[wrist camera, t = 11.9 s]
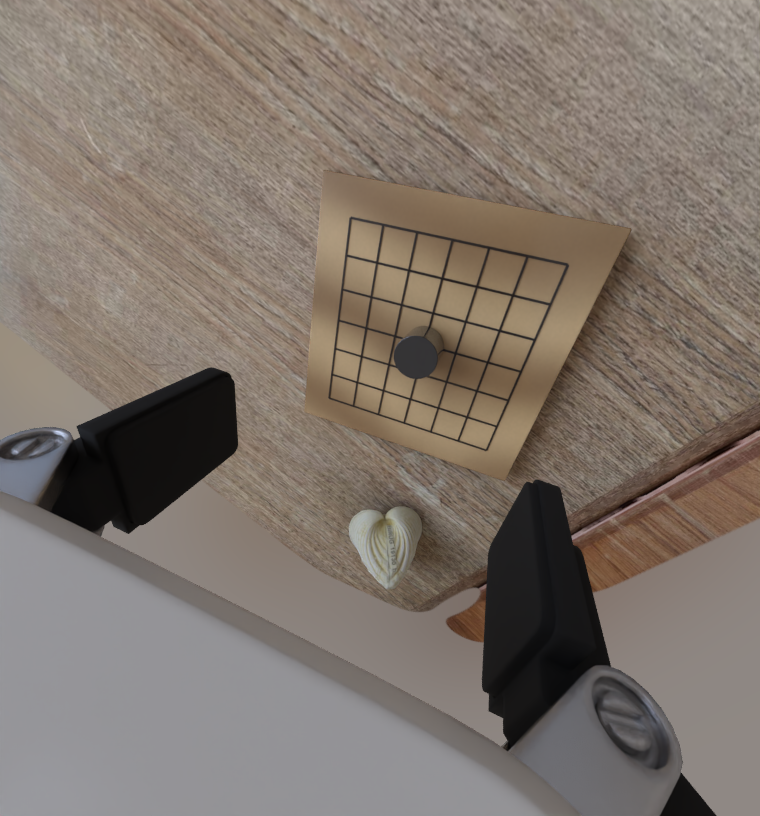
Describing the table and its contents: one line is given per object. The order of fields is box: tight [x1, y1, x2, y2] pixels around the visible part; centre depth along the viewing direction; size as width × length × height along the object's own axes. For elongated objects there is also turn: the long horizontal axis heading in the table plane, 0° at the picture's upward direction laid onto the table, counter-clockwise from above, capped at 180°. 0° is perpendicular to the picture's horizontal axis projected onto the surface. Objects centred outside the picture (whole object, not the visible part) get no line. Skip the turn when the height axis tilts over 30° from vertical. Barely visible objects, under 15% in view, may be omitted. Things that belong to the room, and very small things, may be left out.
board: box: [304, 170, 631, 481], centre depth 26 cm, size 20×20×2 cm
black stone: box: [394, 326, 444, 379], centre depth 24 cm, size 3×3×3 cm
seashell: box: [349, 506, 422, 589], centre depth 35 cm, size 8×8×8 cm
